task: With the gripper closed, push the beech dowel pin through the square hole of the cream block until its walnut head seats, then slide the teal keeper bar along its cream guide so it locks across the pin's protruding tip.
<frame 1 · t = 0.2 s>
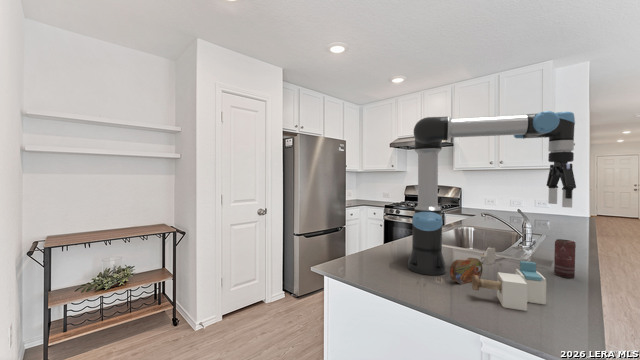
hand: (559, 205, 110), 28 cm above the worktop, fingers open, 13 cm apart
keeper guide: (529, 298, 90), on the worktop
cream block: (511, 303, 86), on the worktop
pin: (495, 285, 87), point 5 cm above the worktop, slide at -6.0 cm
keeper bar: (530, 270, 89), point 9 cm above the worktop, slide at 0.0 cm
architectural model: (488, 264, 124), on the worktop
tin: (465, 281, 104), on the worktop
can: (564, 276, 110), on the worktop
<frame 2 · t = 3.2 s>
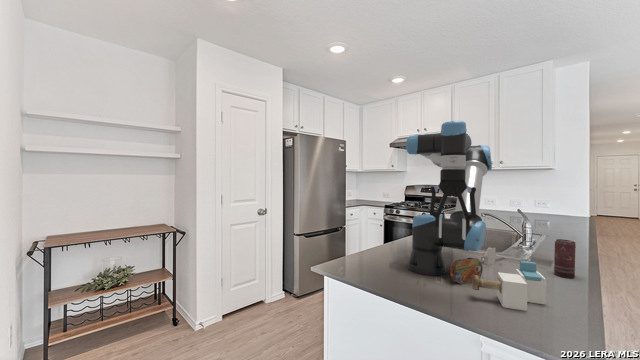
hand: (451, 237, 92), 19 cm above the worktop, fingers open, 6 cm apart
nothing on the worktop moved.
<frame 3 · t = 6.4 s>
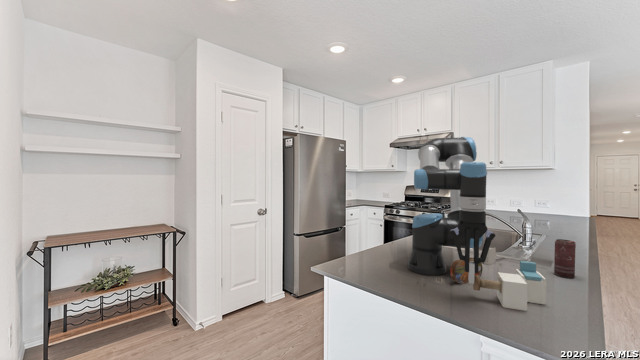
hand: (471, 282, 90), 5 cm above the worktop, fingers closed
pin: (496, 285, 87), point 5 cm above the worktop, slide at -5.7 cm, touching gripper
everything else where it was.
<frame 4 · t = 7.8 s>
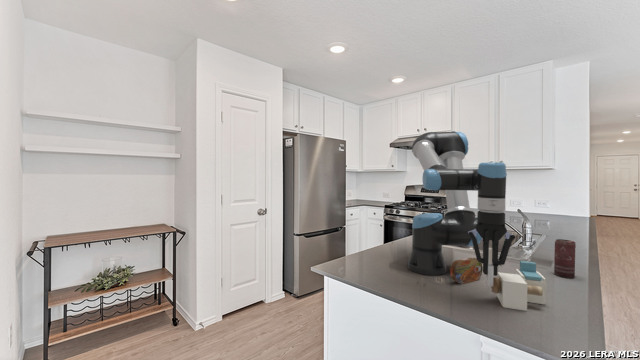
hand: (489, 284, 88), 5 cm above the worktop, fingers closed
pin: (516, 287, 85), point 5 cm above the worktop, slide at -0.5 cm, touching gripper
everything else where it was.
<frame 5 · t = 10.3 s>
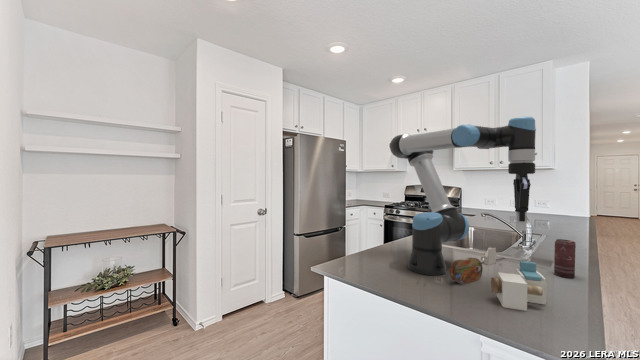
hand: (521, 230, 96), 21 cm above the worktop, fingers closed
pin: (516, 287, 85), point 5 cm above the worktop, slide at -0.5 cm
everything else where it was.
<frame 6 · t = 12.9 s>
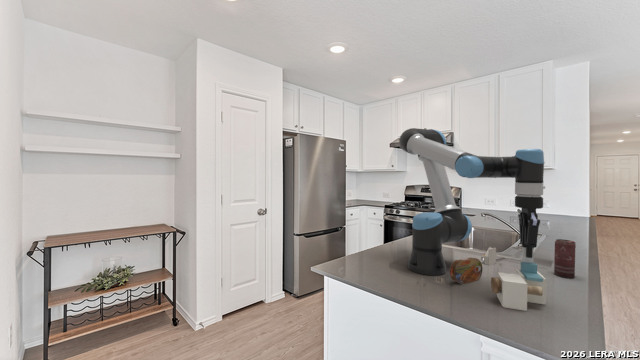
hand: (527, 266, 92), 9 cm above the worktop, fingers closed
keeper bar: (531, 271, 88), point 9 cm above the worktop, slide at 1.0 cm, touching gripper
everything else where it was.
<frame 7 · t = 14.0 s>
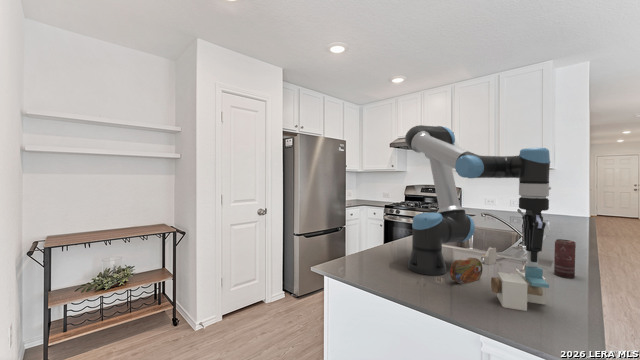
hand: (532, 271, 88), 9 cm above the worktop, fingers closed
keeper bar: (536, 276, 84), point 9 cm above the worktop, slide at 5.7 cm, touching gripper
everything else where it was.
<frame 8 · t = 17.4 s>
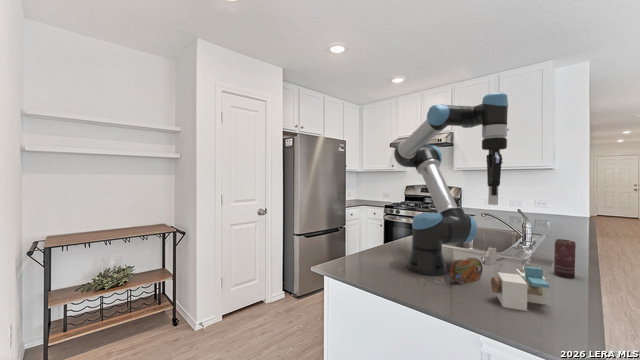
hand: (493, 204, 98), 29 cm above the worktop, fingers closed
keeper bar: (536, 276, 84), point 9 cm above the worktop, slide at 5.8 cm
everything else where it was.
at the end: pin slide at -0.5 cm; keeper bar slide at 5.8 cm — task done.
